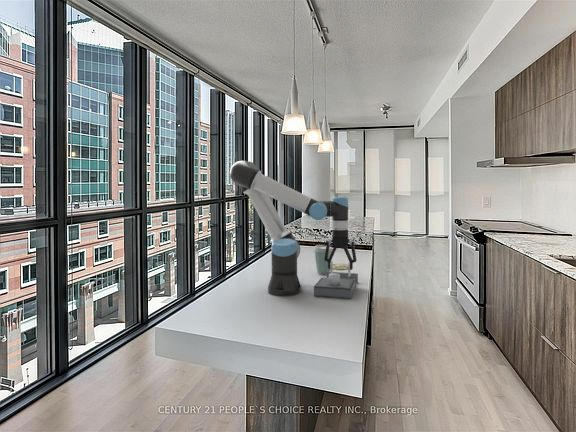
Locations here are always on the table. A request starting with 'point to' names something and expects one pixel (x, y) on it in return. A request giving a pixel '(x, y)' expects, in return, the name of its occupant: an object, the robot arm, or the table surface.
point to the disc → (340, 267)
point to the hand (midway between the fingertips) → (340, 275)
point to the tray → (346, 276)
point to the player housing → (334, 287)
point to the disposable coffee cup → (322, 259)
